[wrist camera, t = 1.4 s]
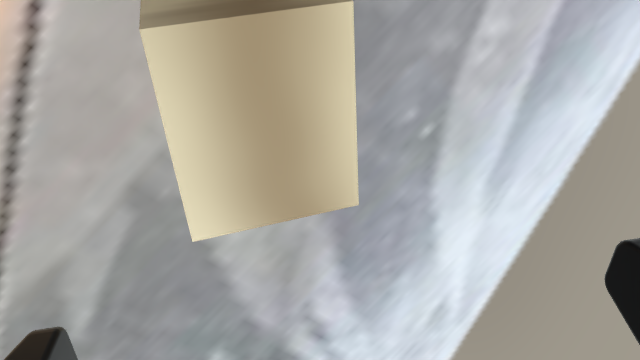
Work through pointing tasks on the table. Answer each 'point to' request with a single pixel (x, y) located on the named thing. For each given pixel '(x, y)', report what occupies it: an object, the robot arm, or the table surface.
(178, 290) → the table surface
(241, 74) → the module block
